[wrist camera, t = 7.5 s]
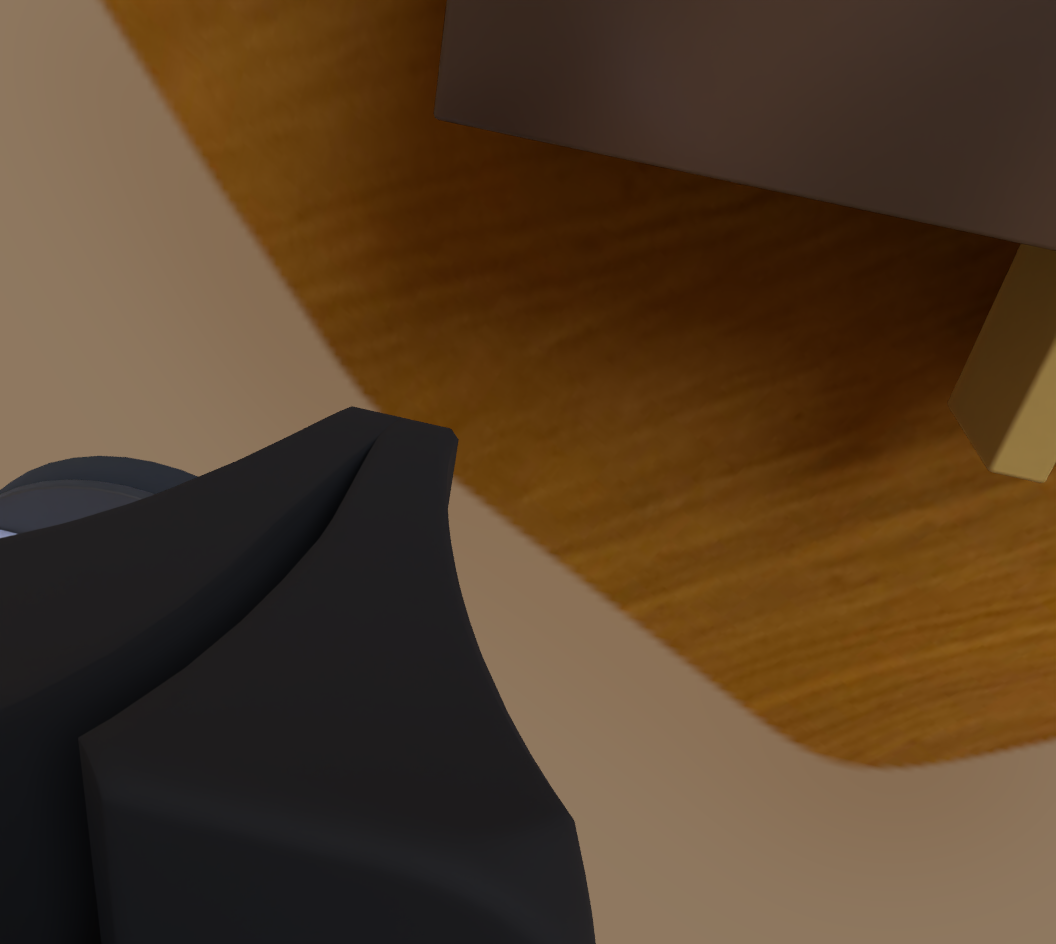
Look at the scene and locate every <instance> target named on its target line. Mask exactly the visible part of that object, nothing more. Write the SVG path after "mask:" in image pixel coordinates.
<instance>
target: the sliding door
mask: <svg viewBox="0 0 1056 944" xmlns="http://www.w3.org/2000/svg"><path fill="white" fill-rule="evenodd" d="M948 407H949V409H950V410H951V412H952V413H953V415H954V417H955V418H956V420H957V421H958V423H959V425H960V426H961V428H962V429H963V431H964V432H965V434H966V436H967V437H968V439H969V440H970V442H971V444H972V445H973V447H974V448H975V450H976V452H977V453H978V455H979V456H980V458H981V460H982V461H983V463H984V464H985V466H986V468H987V469H988V470H989V471H990V472H993V473H998V474H1002V475H1007V476H1011V477H1016V478H1020V479H1025V480H1029V481H1034V482H1038V483H1044V482H1045V481H1046V479H1047V477H1048V476H1049V474H1050V472H1051V470H1052V468H1053V467H1054V465H1055V463H1056V251H1053V250H1049V249H1044V248H1039V247H1034V246H1030V245H1025V244H1020V246H1019V249H1018V251H1017V253H1016V255H1015V257H1014V259H1013V262H1012V264H1011V266H1010V268H1009V270H1008V272H1007V275H1006V277H1005V279H1004V281H1003V283H1002V285H1001V288H1000V290H999V292H998V294H997V296H996V298H995V301H994V303H993V305H992V307H991V309H990V312H989V314H988V316H987V318H986V320H985V322H984V325H983V327H982V329H981V331H980V333H979V335H978V338H977V340H976V342H975V344H974V346H973V348H972V351H971V353H970V355H969V357H968V359H967V361H966V364H965V366H964V368H963V370H962V372H961V374H960V377H959V379H958V381H957V383H956V385H955V387H954V390H953V392H952V394H951V396H950V398H949V400H948Z"/></svg>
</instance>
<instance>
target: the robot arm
mask: <svg viewBox="0 0 1056 944" xmlns="http://www.w3.org/2000/svg"><path fill="white" fill-rule="evenodd" d="M457 446H458V438H457V437H456V435H455V434H454V432H453V431H452V430H451V429H450V428H445V427H441V426H437V425H432V424H428V423H423V422H419V421H414V420H410V419H406V418H401V417H397V416H392V415H388V414H383V413H379V412H374V411H370V410H365V409H361V408H357V407H349V408H347V409H344V410H342V411H339V412H337V413H335V414H333V415H331V416H329V417H327V418H325V419H323V420H321V421H319V422H317V423H314V424H313V425H311V426H308V427H307V428H304V429H303V430H301V431H298V432H297V433H294V434H292V435H291V436H288V437H286V438H284V439H282V440H280V441H278V442H276V443H274V444H272V445H269V446H267V447H265V448H263V449H261V450H259V451H257V452H255V453H253V454H251V455H249V456H246V457H244V458H242V459H240V460H238V461H236V462H233V463H231V464H228V465H226V466H224V467H221V468H219V469H216V470H214V471H212V472H209V473H207V474H204V475H202V476H200V477H197V478H195V479H192V480H190V481H187V482H185V483H183V484H180V485H178V486H175V487H173V488H171V489H168V490H165V491H163V492H160V493H157V494H155V495H152V496H149V497H146V498H143V499H140V500H137V501H135V502H132V503H129V504H126V505H123V506H119V507H116V508H113V509H110V510H106V511H103V512H100V513H97V514H93V515H90V516H87V517H84V518H80V519H77V520H73V521H70V522H66V523H62V524H59V525H54V526H50V527H46V528H42V529H37V530H33V531H29V532H24V533H20V534H17V533H12V532H8V531H4V530H0V944H596V943H595V934H594V926H593V918H592V911H591V905H590V899H589V893H588V887H587V882H586V875H585V870H584V866H583V861H582V856H581V851H580V846H579V841H578V836H577V832H576V827H575V822H574V820H573V818H572V817H571V815H570V814H569V813H568V811H567V809H566V808H565V806H564V805H563V803H562V802H561V801H560V799H559V798H558V796H557V795H556V793H555V792H554V790H553V789H552V787H551V786H550V784H549V783H548V781H547V779H546V778H545V776H544V775H543V773H542V771H541V770H540V768H539V767H538V765H537V763H536V762H535V760H534V759H533V757H532V755H531V754H530V752H529V750H528V748H527V747H526V745H525V743H524V741H523V739H522V738H521V736H520V734H519V732H518V731H517V729H516V727H515V725H514V723H513V721H512V719H511V718H510V716H509V714H508V712H507V710H506V708H505V706H504V703H503V701H502V699H501V697H500V694H499V692H498V690H497V688H496V686H495V683H494V681H493V679H492V677H491V675H490V673H489V670H488V668H487V666H486V664H485V662H484V659H483V657H482V654H481V652H480V649H479V646H478V644H477V641H476V638H475V635H474V632H473V629H472V626H471V624H470V621H469V617H468V614H467V611H466V607H465V604H464V600H463V597H462V593H461V590H460V585H459V582H458V577H457V572H456V568H455V562H454V556H453V551H452V546H451V539H450V531H449V521H448V504H449V497H450V491H451V485H452V478H453V472H454V465H455V459H456V452H457Z"/></svg>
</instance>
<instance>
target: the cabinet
mask: <svg viewBox="0 0 1056 944" xmlns="http://www.w3.org/2000/svg"><path fill="white" fill-rule="evenodd" d="M434 116H435V118H436V119H438V120H442V121H447V122H451V123H456V124H461V125H465V126H470V127H475V128H480V129H484V130H489V131H494V132H498V133H503V134H508V135H512V136H517V137H522V138H527V139H531V140H536V141H541V142H545V143H550V144H555V145H559V146H564V147H569V148H574V149H578V150H583V151H588V152H592V153H597V154H602V155H606V156H611V157H616V158H621V159H625V160H630V161H635V162H639V163H644V164H649V165H654V166H658V167H663V168H668V169H672V170H677V171H682V172H686V173H691V174H696V175H701V176H705V177H710V178H715V179H719V180H724V181H729V182H733V183H738V184H743V185H748V186H752V187H757V188H762V189H766V190H771V191H776V192H780V193H785V194H790V195H795V196H799V197H804V198H809V199H813V200H818V201H823V202H828V203H832V204H837V205H842V206H846V207H851V208H856V209H860V210H865V211H870V212H875V213H879V214H884V215H889V216H893V217H898V218H903V219H907V220H912V221H917V222H922V223H926V224H931V225H936V226H940V227H945V228H950V229H954V230H959V231H964V232H969V233H973V234H978V235H983V236H987V237H992V238H997V239H1002V240H1006V241H1011V242H1016V243H1020V244H1025V245H1030V246H1034V247H1039V248H1044V249H1049V250H1053V251H1056V0H447V2H446V11H445V19H444V28H443V37H442V45H441V54H440V63H439V72H438V80H437V89H436V98H435V106H434Z"/></svg>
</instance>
